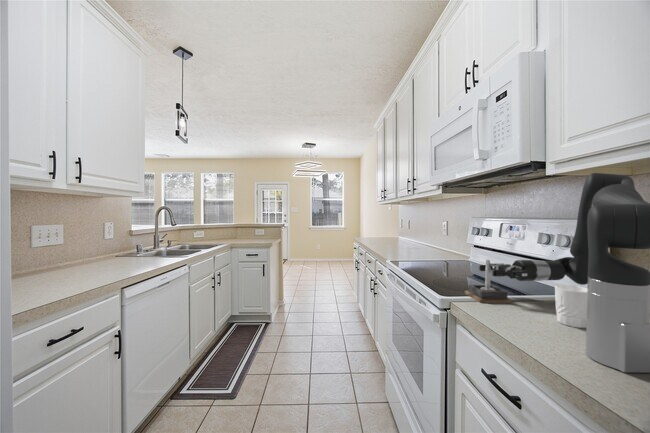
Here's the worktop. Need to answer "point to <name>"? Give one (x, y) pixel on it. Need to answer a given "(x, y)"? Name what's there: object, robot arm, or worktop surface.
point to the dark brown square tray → (488, 294)
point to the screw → (487, 278)
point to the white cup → (571, 305)
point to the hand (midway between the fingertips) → (486, 270)
